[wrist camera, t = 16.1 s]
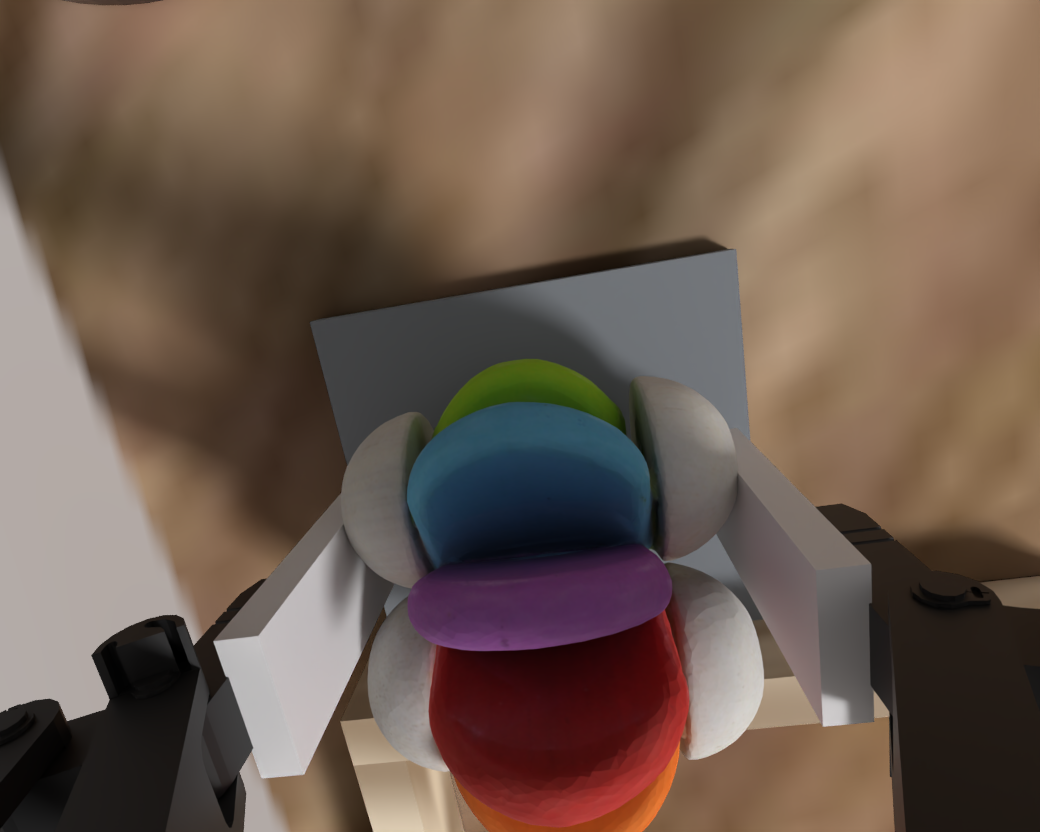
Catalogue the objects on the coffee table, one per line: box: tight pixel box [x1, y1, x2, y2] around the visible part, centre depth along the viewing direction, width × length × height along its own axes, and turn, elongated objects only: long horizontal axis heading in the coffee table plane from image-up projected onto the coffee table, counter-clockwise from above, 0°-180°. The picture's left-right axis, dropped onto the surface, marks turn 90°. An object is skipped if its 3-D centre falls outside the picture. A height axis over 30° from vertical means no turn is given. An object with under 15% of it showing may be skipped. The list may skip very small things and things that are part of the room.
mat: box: [310, 249, 763, 621], centre depth 17 cm, size 11×11×1 cm
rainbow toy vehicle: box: [341, 359, 764, 832], centre depth 12 cm, size 8×10×7 cm
